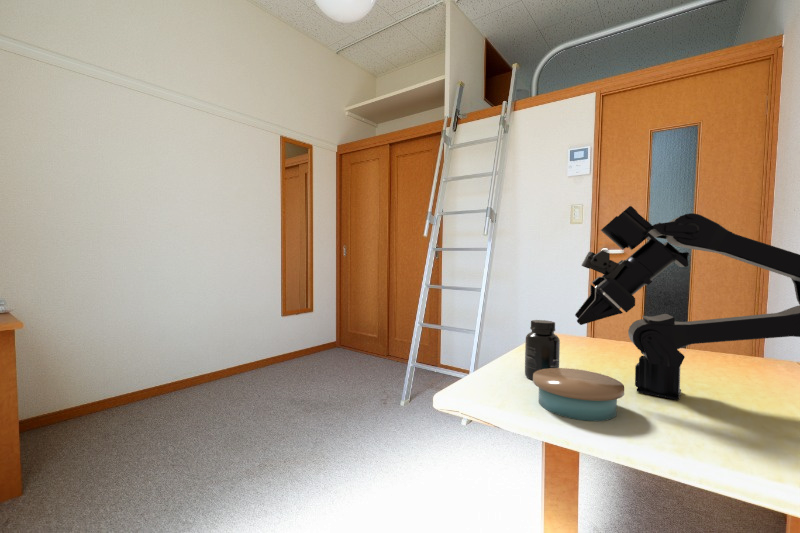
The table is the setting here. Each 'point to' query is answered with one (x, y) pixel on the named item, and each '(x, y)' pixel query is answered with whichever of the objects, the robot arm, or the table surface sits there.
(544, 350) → the supplement bottle
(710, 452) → the table surface
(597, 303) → the robot arm
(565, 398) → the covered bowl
